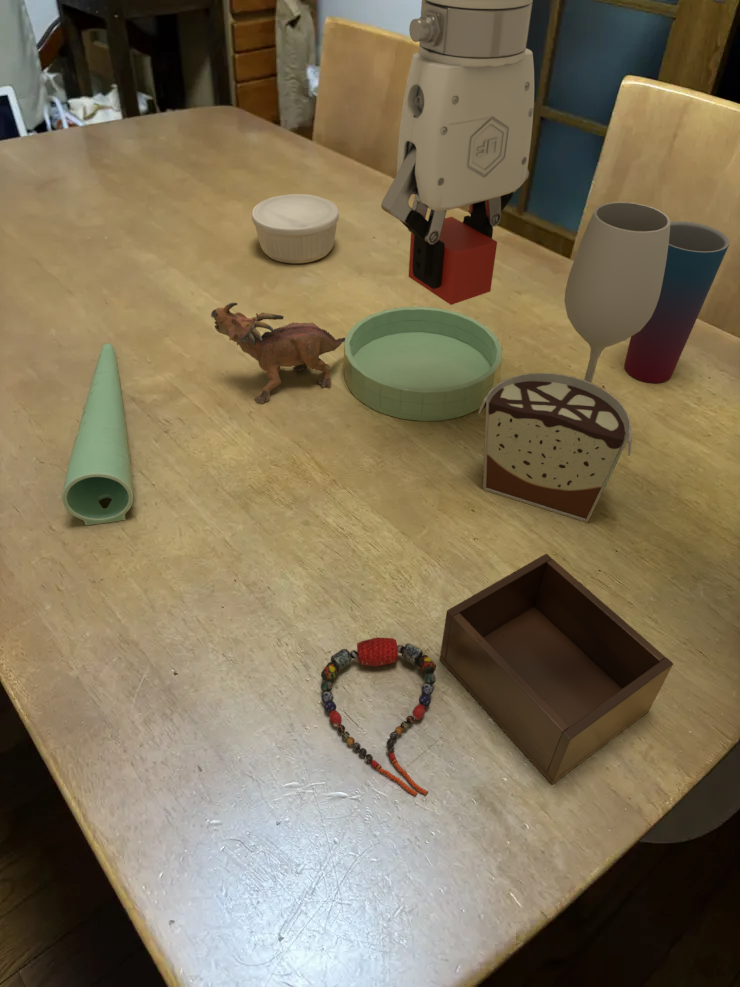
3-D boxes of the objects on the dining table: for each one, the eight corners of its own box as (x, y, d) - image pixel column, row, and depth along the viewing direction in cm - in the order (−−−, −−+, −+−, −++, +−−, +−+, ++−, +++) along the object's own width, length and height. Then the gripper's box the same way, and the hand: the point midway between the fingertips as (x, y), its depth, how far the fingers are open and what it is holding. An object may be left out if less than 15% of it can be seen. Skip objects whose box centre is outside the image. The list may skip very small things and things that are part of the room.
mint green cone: (125, 303, 78) (126, 469, 59) (135, 349, 82) (139, 518, 63) (71, 308, 77) (54, 478, 58) (83, 354, 81) (71, 528, 62)
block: (490, 291, 65) (497, 241, 62) (450, 305, 63) (456, 254, 60) (447, 264, 68) (451, 216, 65) (408, 276, 66) (410, 227, 63)
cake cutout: (619, 484, 67) (650, 392, 61) (605, 528, 63) (636, 435, 57) (488, 445, 71) (504, 354, 64) (467, 484, 67) (481, 392, 60)
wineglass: (548, 396, 77) (595, 191, 63) (622, 418, 75) (689, 209, 60) (526, 437, 72) (572, 224, 58) (605, 461, 70) (673, 245, 55)
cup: (613, 380, 79) (653, 245, 69) (618, 348, 84) (656, 216, 74) (679, 393, 78) (730, 257, 68) (681, 359, 83) (729, 227, 73)
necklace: (428, 641, 54) (430, 627, 53) (458, 796, 47) (461, 784, 45) (317, 652, 54) (316, 637, 52) (330, 811, 46) (329, 799, 45)
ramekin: (244, 263, 97) (240, 223, 94) (268, 227, 105) (265, 189, 102) (328, 272, 96) (328, 232, 92) (346, 235, 104) (346, 197, 100)
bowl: (501, 343, 84) (505, 315, 82) (493, 430, 73) (498, 401, 70) (359, 327, 86) (360, 299, 84) (329, 410, 75) (329, 380, 72)
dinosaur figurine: (232, 410, 74) (221, 327, 68) (219, 377, 78) (208, 297, 72) (362, 384, 78) (363, 304, 72) (343, 355, 82) (343, 276, 76)
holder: (649, 711, 51) (674, 663, 47) (551, 785, 47) (570, 739, 43) (533, 602, 57) (546, 552, 53) (439, 659, 53) (446, 610, 50)
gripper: (408, 57, 47) (396, 319, 59) (598, 28, 54) (551, 267, 66) (343, 33, 51) (344, 281, 63) (525, 9, 58) (494, 236, 71)
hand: (450, 272), depth 65 cm, fingers closed on block, 4 cm apart
